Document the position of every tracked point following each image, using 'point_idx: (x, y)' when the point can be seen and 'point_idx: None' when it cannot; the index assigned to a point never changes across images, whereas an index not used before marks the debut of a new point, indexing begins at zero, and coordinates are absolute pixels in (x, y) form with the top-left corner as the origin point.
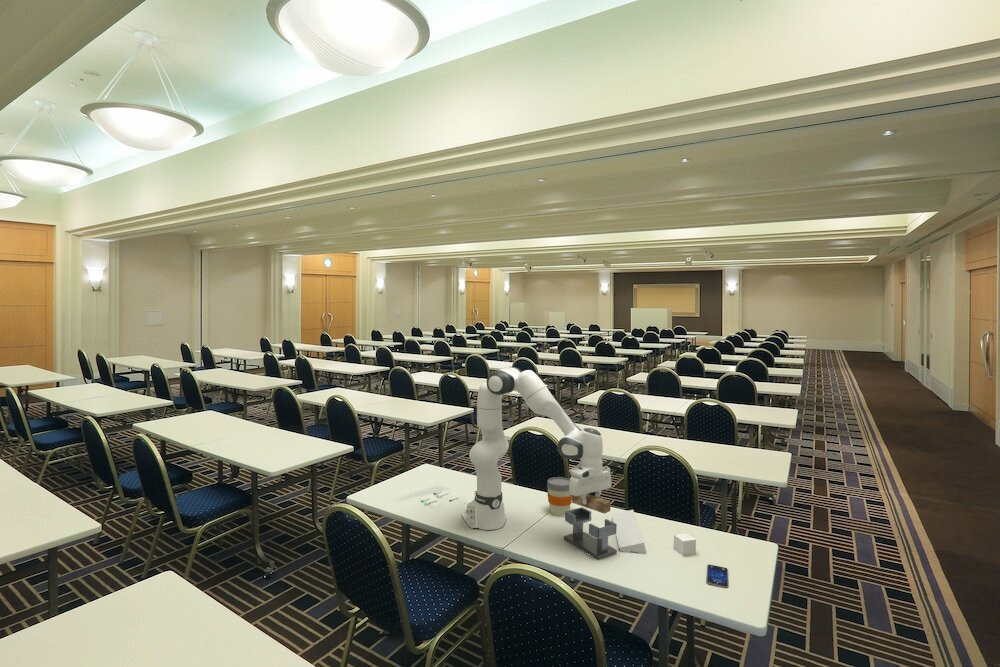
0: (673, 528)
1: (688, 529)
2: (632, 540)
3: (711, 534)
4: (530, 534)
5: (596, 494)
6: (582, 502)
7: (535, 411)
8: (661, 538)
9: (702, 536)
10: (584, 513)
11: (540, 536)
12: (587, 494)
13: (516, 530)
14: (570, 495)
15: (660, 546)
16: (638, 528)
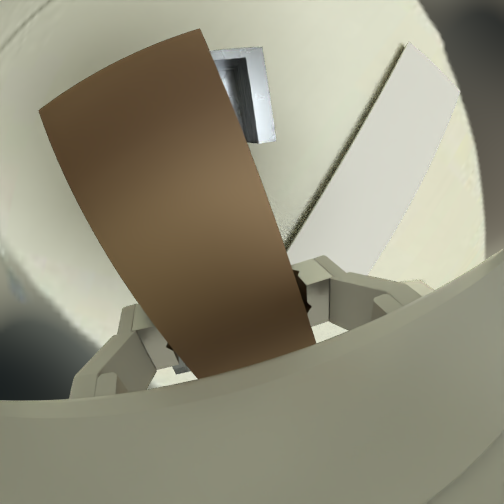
0: (463, 190)
1: (473, 208)
2: (338, 263)
3: (476, 243)
4: (31, 42)
5: (351, 300)
6: (122, 310)
7: None
8: (420, 224)
9: (465, 245)
10: (243, 93)
11: (51, 61)
12: (259, 240)
13: (13, 12)
14: None
15: (389, 263)
16: (405, 209)
